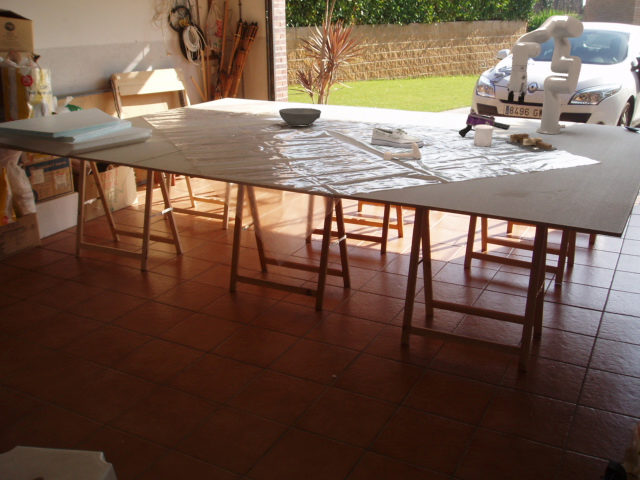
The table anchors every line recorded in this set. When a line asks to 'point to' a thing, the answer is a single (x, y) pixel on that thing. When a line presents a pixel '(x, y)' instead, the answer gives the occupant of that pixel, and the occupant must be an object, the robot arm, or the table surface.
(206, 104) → the table surface
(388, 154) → the beige knobbed bar
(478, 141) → the cup
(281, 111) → the bowl
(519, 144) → the strip
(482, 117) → the toy gun
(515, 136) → the rail
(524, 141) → the sliding jaw
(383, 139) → the boat shoe
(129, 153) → the table surface
